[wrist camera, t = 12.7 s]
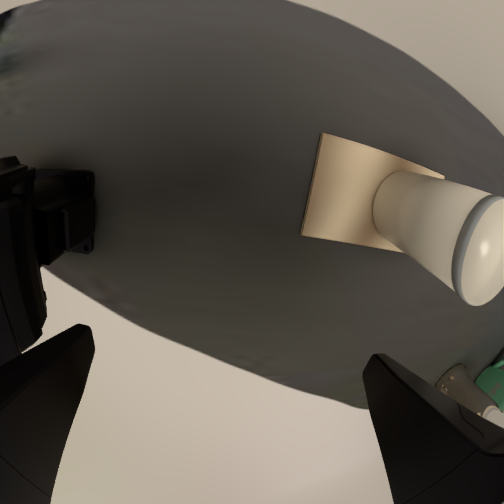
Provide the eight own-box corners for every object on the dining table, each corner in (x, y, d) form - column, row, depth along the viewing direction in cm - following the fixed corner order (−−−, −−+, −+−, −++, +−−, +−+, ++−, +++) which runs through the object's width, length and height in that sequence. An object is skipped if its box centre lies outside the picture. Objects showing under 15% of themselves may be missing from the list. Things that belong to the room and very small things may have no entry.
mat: (300, 233, 20) (302, 236, 19) (321, 133, 17) (324, 132, 17) (419, 254, 22) (424, 257, 21) (441, 175, 19) (446, 177, 18)
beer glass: (425, 396, 31) (465, 465, 18) (447, 364, 29) (498, 435, 15) (450, 389, 32) (490, 448, 18) (471, 358, 30) (519, 418, 16)
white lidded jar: (372, 249, 20) (450, 319, 11) (370, 171, 18) (471, 202, 9) (429, 238, 20) (509, 291, 11) (431, 168, 18) (526, 196, 9)
